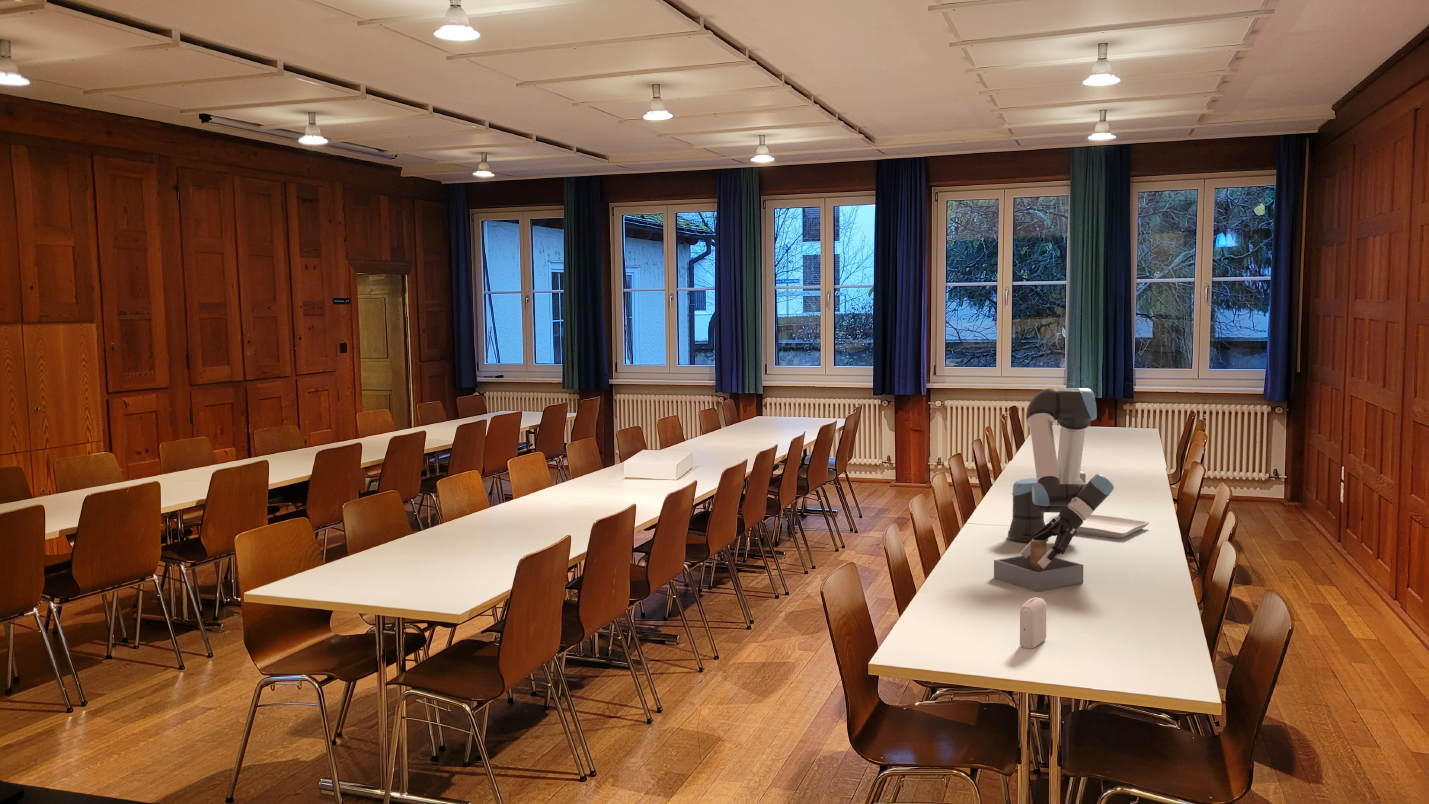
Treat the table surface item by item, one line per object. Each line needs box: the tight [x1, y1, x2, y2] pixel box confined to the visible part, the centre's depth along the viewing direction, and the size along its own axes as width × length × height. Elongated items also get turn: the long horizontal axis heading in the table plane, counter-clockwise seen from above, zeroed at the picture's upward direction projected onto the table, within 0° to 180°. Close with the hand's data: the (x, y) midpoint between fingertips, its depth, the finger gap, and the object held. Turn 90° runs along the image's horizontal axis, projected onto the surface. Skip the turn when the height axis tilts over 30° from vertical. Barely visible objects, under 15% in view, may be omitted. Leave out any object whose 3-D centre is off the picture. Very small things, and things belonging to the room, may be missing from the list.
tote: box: [993, 554, 1084, 593], centre depth 339 cm, size 20×20×6 cm
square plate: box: [1076, 514, 1150, 539], centre depth 409 cm, size 27×27×4 cm
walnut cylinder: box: [1030, 540, 1047, 572], centre depth 339 cm, size 5×5×12 cm
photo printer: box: [1019, 597, 1047, 650], centre depth 277 cm, size 10×4×12 cm, turn 140°
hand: (1031, 560), depth 339 cm, fingers open, 13 cm apart
